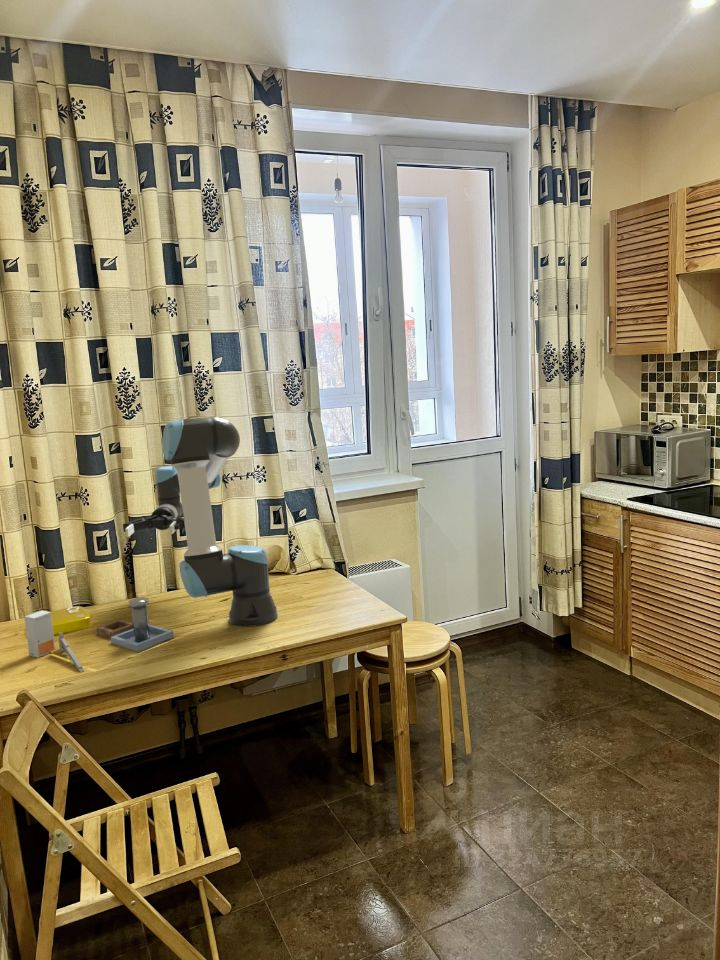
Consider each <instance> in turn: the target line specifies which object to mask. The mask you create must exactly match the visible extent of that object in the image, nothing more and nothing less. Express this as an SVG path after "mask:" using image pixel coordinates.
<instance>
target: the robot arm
mask: <svg viewBox="0 0 720 960" xmlns="http://www.w3.org/2000/svg"><path fill="white" fill-rule="evenodd" d="M240 436H241V435H240V433H239V431H238V429H237V428H236V426H235V425H234V424H233V423H232V422H231V421H229V420H227V419H226V418H222V417H219V416H209V417H198V418H197V417H196V418H187V419H186V418H185V419H178V420H177V419H176V420H173V421H172V420H171V421H169V422H167V423H166V424H165V427H164V429H163V433H162V453H163V457H164V459H165V460H166V461H170V465H171V466H169V465H168V466H161V467H158V468H157V469H156V470H155V484H156V491H157V501H158V502H157V503H158V507H157V508H155V509H154V511H153V512H152V513H151V515H150V516H149V517H146V518H145V519H144V517H140V518H138V519H133V520H132V521H127V522H126V523H123V524H122V529H123V532H124V533H125V538H130V537H131V535H133V534H134V533H135V532H136V531H140V530H144V529H147V530H148V529H150V530H151V529H157V530H159V531H166V530H168V529H169V534H170V535H174V534H175V532H177V531H178V530H180V529H184V530H185V536H186V543H187V549H186V551H185V553H183V559H184V560H182V561H180V563H179V564H178V565H179V574H180V579H181V582H182V584H183V586H184V589H185V591H186V593H187V594H188V595H189V596H190V597H191V598H195V599H196V598H203V597H208V596H212V595H213V596H214V595H218V594H224V593H227V592H232V599H231V606H230V610H229V612H228V618H229V623H230V624H232V625H233V626H238V625H239V626H238V627H254V625H256V626H262V625H265V624H264V623H266V624H268V622H269V623H272V622H273V621H274V620H276V619H277V618H278V609H277V607H276V606H277V605H275V601H274V599H273V597H272V594H271V589H270V579H269V561H268V556H267V551H266V550H265V549H264V548H262V547H260V546H256V545H249V544H248V545H246V544H245V545H242V544H241V545H240V544H239V545H234V546H230V547H229V548H228V553H223V548H222V547H221V546H219V545H218V544H217V539H216V532H215V531H216V530H215V525H214V517H213V509H212V503H211V495H210V490H211V489H215V488H218V487H220V485H221V481H222V479H221V477H222V476H221V473H220V472H221V471H222V469H223V467H224V466H225V464H226V463H227V461H228V459H229V458H230V457H233V456H234V455H235V454H236V453H237V451H238V449H239V447H240V443H241V437H240ZM180 501H181V502H180ZM182 515H183V516H182ZM261 624H262V625H261Z"/></svg>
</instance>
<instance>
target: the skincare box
mask: <svg viewBox="0 0 720 960" xmlns="http://www.w3.org/2000/svg"><path fill="white" fill-rule="evenodd" d="M51 612H52V611H47V610H39V611H37V612H33V613H31V614H29V615H25V616H24V624H25V631H26V633H25V634H26V639H27V649H28V656H29V657H34V658H38V659H39V658H40V657H43V656H45V655H47V654H51V652H52V651H54V650H56V645H55V635H53V627H52V618H51Z"/></svg>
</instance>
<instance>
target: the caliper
mask: <svg viewBox="0 0 720 960" xmlns="http://www.w3.org/2000/svg"><path fill="white" fill-rule="evenodd" d="M64 634H65V633H62V632H61V633H59V635H57V636H58V645H59V650H60V651H61V652H62V653H65V654H66V655H67V656H68V657H69V658H70V660H71V662H72V663H73V665H74V666H75V667H76V670H78V672H80V673H82V672H83V673H84V672H85V669H84V667H83V665H82V663H81V662H80V660H79V659H78V657H77V656H76V654H75V652H73V650H72V648H71V647H70V644H69V643H68V642H67V640H66V638H65V637H64Z"/></svg>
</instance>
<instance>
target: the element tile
mask: <svg viewBox="0 0 720 960" xmlns="http://www.w3.org/2000/svg"><path fill="white" fill-rule="evenodd" d="M50 612H51V618H52V627H53V635H54V636H59V633H61V632H62V633H63V634H67V633H71V632H76V631H80V630H84V629H88V628H91V626H92V621H91V615H90V614H89V612H87V610H86V609H85V608H84V607H83V606H80V605H77V606H76V605H75V606H72V607H71V606H70V607H67V608H62V609H57V610H53V611H50Z"/></svg>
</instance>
